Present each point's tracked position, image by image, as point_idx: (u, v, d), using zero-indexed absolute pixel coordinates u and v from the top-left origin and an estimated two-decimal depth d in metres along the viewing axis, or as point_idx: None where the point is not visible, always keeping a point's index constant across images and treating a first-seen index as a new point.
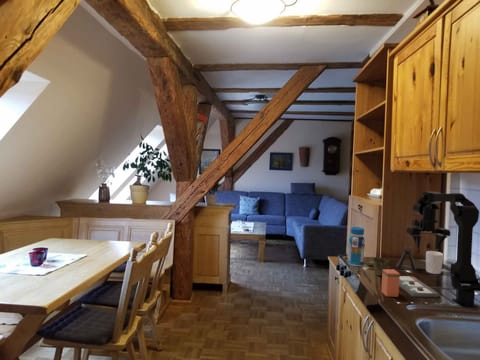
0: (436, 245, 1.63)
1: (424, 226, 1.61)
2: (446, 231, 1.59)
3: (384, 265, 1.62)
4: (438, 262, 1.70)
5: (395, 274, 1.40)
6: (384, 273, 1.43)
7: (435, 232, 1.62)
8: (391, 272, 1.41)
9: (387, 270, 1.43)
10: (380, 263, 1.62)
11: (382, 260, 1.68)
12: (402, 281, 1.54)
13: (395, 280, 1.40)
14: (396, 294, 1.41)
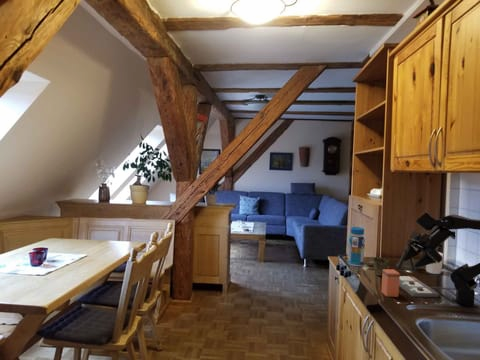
0: (407, 257, 1.47)
1: (433, 248, 1.40)
2: None
3: (384, 265, 1.62)
4: None
5: (395, 274, 1.40)
6: (384, 273, 1.43)
7: None
8: (391, 272, 1.41)
9: (387, 270, 1.43)
10: (380, 263, 1.62)
11: (382, 260, 1.68)
12: (402, 281, 1.54)
13: (395, 280, 1.40)
14: (396, 294, 1.41)
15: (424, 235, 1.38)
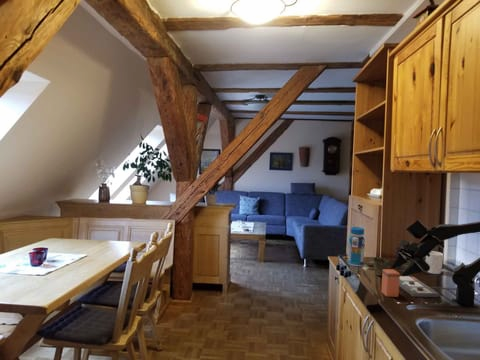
0: (395, 265, 1.47)
1: (421, 257, 1.40)
2: None
3: (384, 265, 1.62)
4: (438, 262, 1.70)
5: (395, 274, 1.40)
6: (384, 273, 1.43)
7: None
8: (391, 272, 1.41)
9: (387, 270, 1.43)
10: (380, 263, 1.62)
11: (382, 260, 1.68)
12: (402, 281, 1.54)
13: (395, 280, 1.40)
14: (396, 294, 1.41)
15: (412, 244, 1.37)
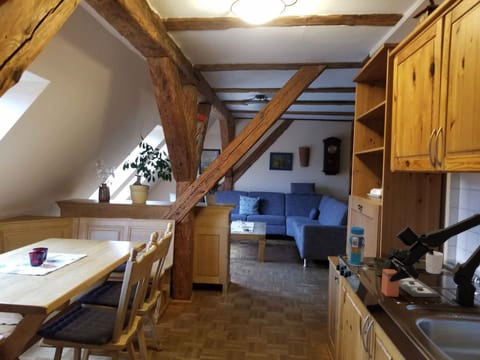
0: None
1: (411, 264, 1.40)
2: None
3: (384, 265, 1.62)
4: (438, 262, 1.70)
5: None
6: (384, 273, 1.43)
7: None
8: (391, 272, 1.41)
9: (387, 270, 1.43)
10: (380, 263, 1.62)
11: (382, 260, 1.68)
12: (402, 281, 1.54)
13: None
14: (396, 294, 1.41)
15: (402, 251, 1.37)
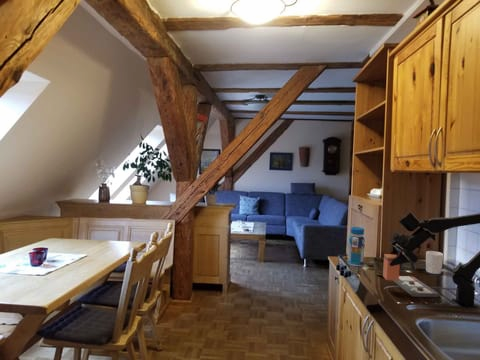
0: None
1: (412, 249, 1.41)
2: None
3: None
4: (438, 262, 1.70)
5: None
6: (385, 257, 1.46)
7: None
8: (391, 256, 1.44)
9: (388, 255, 1.46)
10: (380, 263, 1.62)
11: (382, 260, 1.68)
12: (402, 281, 1.54)
13: None
14: (396, 278, 1.43)
15: (402, 236, 1.40)
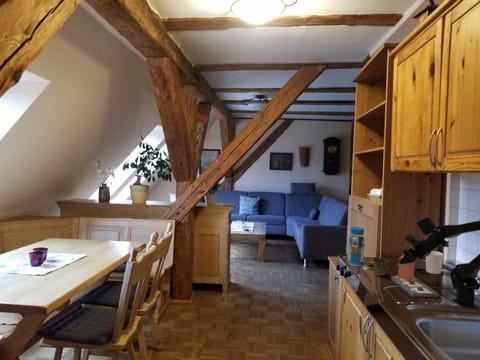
0: None
1: (421, 251, 1.50)
2: (429, 253, 1.57)
3: (384, 265, 1.62)
4: (438, 262, 1.70)
5: None
6: None
7: None
8: None
9: None
10: (380, 263, 1.62)
11: (382, 260, 1.68)
12: (402, 281, 1.54)
13: (406, 265, 1.55)
14: (407, 278, 1.55)
15: (409, 237, 1.52)
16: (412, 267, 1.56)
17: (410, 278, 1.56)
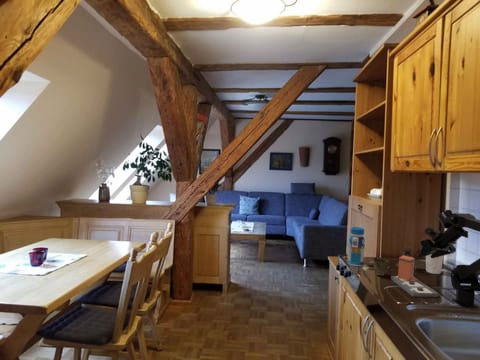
0: (434, 255, 1.54)
1: (441, 244, 1.45)
2: (453, 250, 1.50)
3: (384, 265, 1.62)
4: (438, 262, 1.70)
5: (406, 259, 1.55)
6: None
7: None
8: (404, 257, 1.57)
9: (405, 256, 1.59)
10: (380, 263, 1.62)
11: (382, 260, 1.68)
12: (402, 281, 1.54)
13: (406, 265, 1.55)
14: (407, 278, 1.55)
15: (427, 228, 1.49)
16: (412, 267, 1.56)
17: (410, 278, 1.56)
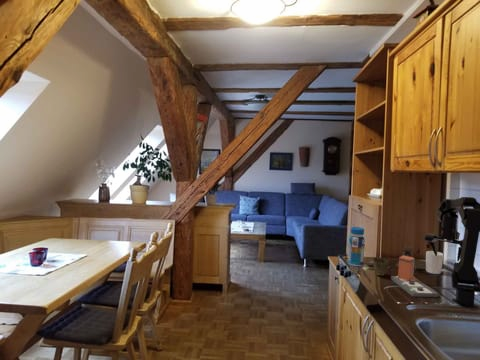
0: None
1: None
2: None
3: (384, 265, 1.62)
4: (438, 262, 1.70)
5: (406, 259, 1.55)
6: None
7: (455, 242, 1.53)
8: (404, 257, 1.57)
9: (405, 256, 1.59)
10: (380, 263, 1.62)
11: (382, 260, 1.68)
12: (402, 281, 1.54)
13: (406, 265, 1.55)
14: (407, 278, 1.55)
15: None
16: (412, 267, 1.56)
17: (410, 278, 1.56)
